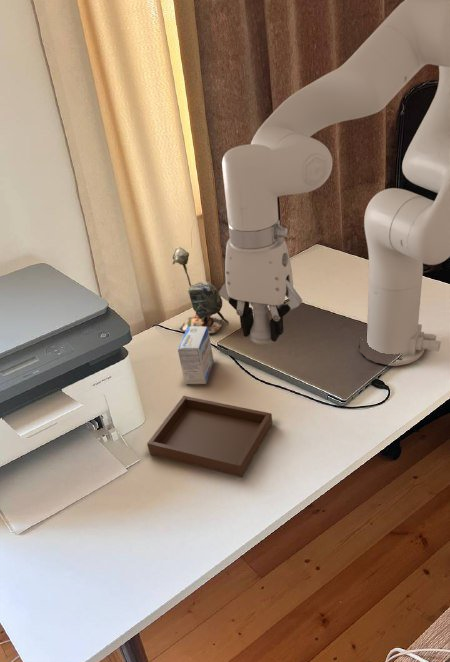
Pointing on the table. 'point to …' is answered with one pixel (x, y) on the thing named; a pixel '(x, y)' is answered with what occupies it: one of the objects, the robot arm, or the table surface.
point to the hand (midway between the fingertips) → (262, 333)
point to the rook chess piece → (260, 324)
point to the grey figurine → (201, 299)
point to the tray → (211, 435)
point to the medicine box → (196, 355)
